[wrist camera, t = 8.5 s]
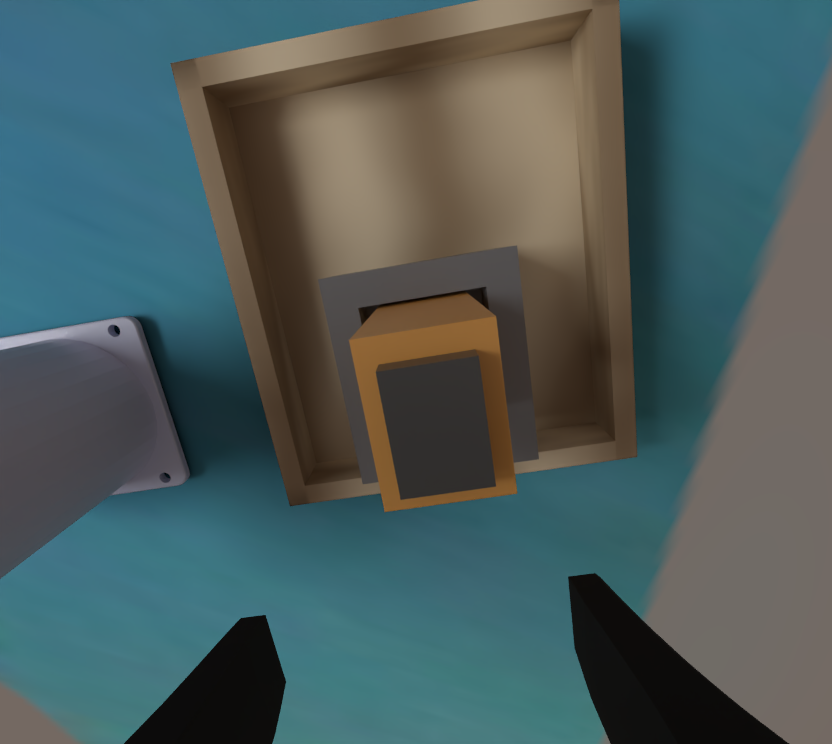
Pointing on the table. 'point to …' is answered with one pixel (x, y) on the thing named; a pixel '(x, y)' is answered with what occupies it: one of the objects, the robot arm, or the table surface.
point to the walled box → (425, 205)
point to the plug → (434, 401)
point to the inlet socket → (472, 272)
